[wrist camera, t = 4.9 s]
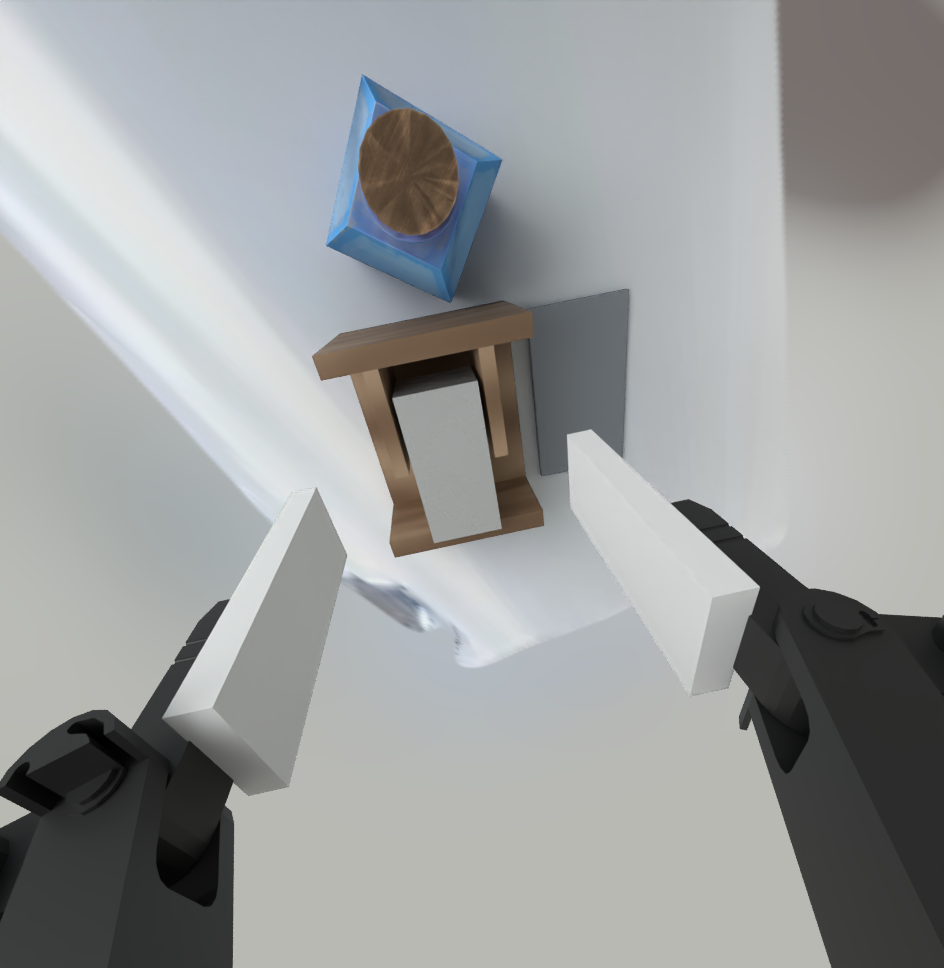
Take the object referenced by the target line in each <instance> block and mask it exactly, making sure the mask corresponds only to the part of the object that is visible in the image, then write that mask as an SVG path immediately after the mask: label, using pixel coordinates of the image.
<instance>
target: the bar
mask: <svg viewBox="0 0 944 968" xmlns="http://www.w3.org/2000/svg"><path fill="white" fill-rule="evenodd" d="M392 399H393V403H394V406H395V409H396V413H397V416H398V420H399V423H400V427H401V430H402V434H403V437H404V441H405V444H406V448H407V451H408V455H409V458H410V461H411V465H412V468H413V472H414V475H415V479H416V482H417V486H418V489H419V493H420V496H421V500H422V503H423V507H424V510H425V513H426V517H427V520H428V524H429V527H430V531H431V534H432V538H433V541H434V543H438V542H442V541H447V540H452V539H456V538H461V537H466V536H470V535H475V534H480V533H484V532H489V531H494V530H498V529H502V526H501V520H500V514H499V508H498V502H497V496H496V490H495V484H494V478H493V472H492V465H491V459H490V453H489V447H488V441H487V435H486V429H485V423H484V417H483V411H482V405H481V398H480V392H479V386H478V380H477V379H476V377H475V375H474V373H473V371H472V369H471V367H470V366H467V367H462V368H458V369H453V370H448V371H443V372H438V373H433V374H428V375H424V376H419V377H414V378H409V379H404V380H399V381H396V383H395V388H394V392H393V397H392Z"/></svg>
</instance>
